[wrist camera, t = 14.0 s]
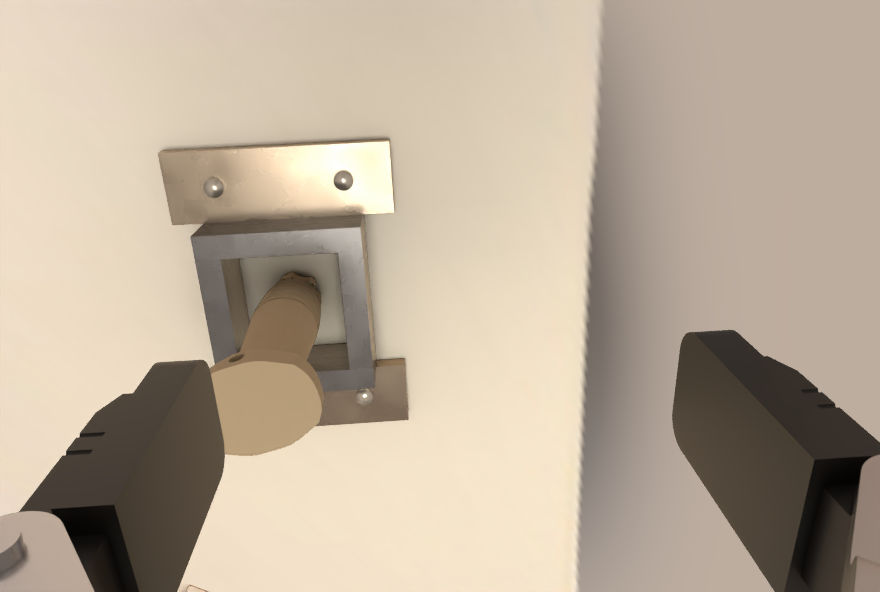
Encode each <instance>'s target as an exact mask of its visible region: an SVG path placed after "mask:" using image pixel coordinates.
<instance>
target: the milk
mask: <svg viewBox="0 0 880 592" xmlns="http://www.w3.org/2000/svg"><path fill="white" fill-rule="evenodd" d="M186 592H206V591H203V590H201V589H198V588H196V587H193V586H189V587H188V589H187V590H186Z"/></svg>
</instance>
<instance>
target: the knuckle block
mask: <svg viewBox="0 0 880 592" xmlns="http://www.w3.org/2000/svg"><path fill="white" fill-rule="evenodd" d="M158 156H159V161H160V166H161V171H162V176H163V181H164V186H165V191H166V196H167V201H168V206H169V211H170V216H171V221H172V225H184V224H201V223H204V224H203V225H202V226H201V227H200V228H199V229H198V230H197V231H196V232H195V233H194V234H193V235H192V236H191V242H192V247H193V252H194V258H195V263H196V268H197V273H198V278H199V284H200V289H201V294H202V299H203V304H204V310H205V315H206V320H207V325H208V330H209V336H210V341H211V346H212V351H213V356H214V362H215V364H217V363H218V362H220V361H222V360H224V359H225V358H227V357H229V356H231V355H233V354H236V353H238V352H240V350H241V347H242V345H243V342H244V339H245V336H246V333H247V330H248V327H249V324H250V323H249V317H248V311H247V305H246V299H245V293H244V287H243V281H242V275H241V269H240V263H239V258H255V257H272V256H289V255H306V254H323V253H338V261H339V271H340V280H341V290H342V299H343V309H344V318H345V328H346V337H347V343H343V344H327V345H313V346H312V349H311V351H310V353H309V356H308V358H307V360H306V361H307V362H308V363H310V365H311V366H312V367H313V369H314V370H315V371H316V373H317V375H318V377H319V379H320V382H321V386H322V389H323V397H324V400H323V407H322V413H321V417H320V421H319V423H318V424H317V425H316V426H325V425H339V424H354V423H368V422H382V421H397V420H408V402H407V387H406V373H405V359H388V360H377V359H376V348H375V336H374V325H373V313H372V302H371V291H370V279H369V268H368V256H367V245H366V234H365V222H364V214H379V213H394V200H393V186H392V172H391V157H390V143H389V139H379V140H360V141H340V142H321V143H301V144H282V145H262V146H243V147H223V148H204V149H185V150H165V151H162V152H160V153H158Z"/></svg>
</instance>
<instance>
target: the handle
mask: <svg viewBox="0 0 880 592" xmlns="http://www.w3.org/2000/svg"><path fill="white" fill-rule="evenodd" d="M320 317H321V294H320V293H319V292H318V291H317V289H316V281H315V280H314V279H313V278H312V277H301V276H298V275H296V274H295V273H288V274H286V275H284V276H283V277H282V278H281V281H280V282H279V283H277V284H276V285H274V286H273V287H272V288H271V289H270V290H269V291H268V292H267V294H266V295H265V296H264V297H263V299H262V300H261V302H260V303H259V305H258V306H257V308H256V310H255V312H254V314H253V316H252V319H251V321H250V324H249V327H248V330H247V333H246V336H245V339H244V342H243V345H242V347H241V350H240V352H238V353H236V354H233V355H231V356H229V357H227V358H225V359H224V360H222V361H220V362H218V363H217V364H215V365H214V366H213V367H211V368H210V373H211V377H212V382H213V387H214V393H215V398H216V403H217V408H218V413H219V418H220V423H221V428H222V433H223V439H224V449H225V454H228V455H239V456H253V455H258V454H263V453H266V452H270V451H273V450H277V449H281V448H283V447H286V446H289V445H291V444H293V443H294V442H296V441H297V440H299V439H300V438H301V437H303V436H304V435H305V434H306V433H308V432H309V431H310V430H311V429H312V428H313V427H315V426H316V425H317V424H318V423H319V421H320V417H321V413H322V407H323V400H324V397H323V389H322V386H321V382H320V379H319V377H318V375H317V373H316V371H315V370H314V369H313V367H312V366H311V365H310V363H308V362H307V361H306V360H307V358H308V356H309V353H310V351H311V349H312V346H313V344H314V342H315V339H316V336H317V333H318V329H319V325H320Z"/></svg>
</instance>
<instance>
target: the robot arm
mask: <svg viewBox="0 0 880 592" xmlns="http://www.w3.org/2000/svg"><path fill="white" fill-rule="evenodd" d="M672 417H673V418H672V419H673V429H674V434H675V437H676V440H677V443H678V445H679V447H680V449H681V451H682V452H683V454H684V455H685V457H686V458H687V460H688V461H689V463H690V464H691V466H692V467H693V469H694V470H695V472H696V473H697V475H698V476H699V478H700V479H701V481H702V482H703V484H704V485H705V487H706V488H707V490H708V492H709V493H710V494H711V496H712V497H713V499H714V501H715V502H716V503H717V505H718V507H719V508H720V510H721V511H722V513H723V514H724V516H725V517H726V519H727V520H728V522H729V523H730V525H731V526H732V528H733V529H734V530H735V532H736V534H737V535H738V536H739V538H740V540H741V541H742V543H743V544H744V546H745V547H746V549H747V550H748V552H749V553H750V555H751V556H752V558H753V559H754V561H755V562H756V564H757V565H758V567H759V569H760V570H761V571H762V573H763V575H764V576H765V577H766V579H767V581H768V582H769V583H770V585H771V587H772V588H773V590H774V591H775V592H880V442H878V441H877V440H876V439H875V438H874V437H873V436H872V435H870V434H869V433H868V432H867V431H866V430H864V428H862V427H861V426H860V425H859V424H858V423H857V422H856V421H854V420H853V419H852V418H851V417H850V416H849V415H847V414H846V413H845V412H844V411H843V410H842V409H840V408H836V407H835V403H834V402H833V401H831V400H830V399H829V398H828V397H827V396H826V395H825V394H823V393H822V392H821V393H819V392H818V388H817V387H815V386H814V385H813V384H812V383H811V382H809V381H808V380H807V379H806V378H805V377H804V376H803V375H802V374H800V373H799V372H798V371H797V370H795V369H793V368H791V367H788V366H786V365H784V364H782V363H780V362H778V361H776V360H774V359H772V358H770V357H768V356H765V357H764V356H763V355H761V354H760V353H759V352H758V351H757V350H756V349H755V348H754V347H753V346H752V345H750V344H749V343H748V342H747V341H746V340H745V339H744V338H743V337H742V336H741V335H740V334H738V333H737V332H736V331H734V330H723V331H707V332H706V331H705V332H689V333H687V334H686V335H685V336H684V337H683V340H682V343H681V347H680V355H679V363H678V372H677V379H676V387H675V396H674V404H673V414H672ZM224 458H225V449H224V439H223V433H222V428H221V423H220V418H219V413H218V408H217V403H216V398H215V393H214V387H213V382H212V377H211V373H210V369H209V367H208V364H207V363H206V362H205V361H204V360H192V361H175V362H158V363H155V364H154V365H153V366H152V368H151V369H150V371H149V372H148V373H147V375H146V376H145V378H144V379H143V380H142V382H141V383H140V385H139V386H138V387H137V389H136V390H135V392H134V393H133V394H122V395H121V396H119V397H118V398H116V399H115V400H114V401H112V402H111V403H109V404H108V405H106V406H105V407H103V408H102V409H101V410H99V411H98V412H96V413H95V414H94V416H93V417H92V418H91V420H90V421H89V422H88V424H87V425H86V426H85V427H84V429H83V430H82V431H81V433H80V438H76V439H75V440H74V442H73V443H72V444H71V445H70V447H69V448H68V449H67V451H66V456H62V457H61V458H60V460H59V461H58V462H57V464H56V465H55V466H54V467H53V469H52V470H51V471H50V473H49V474H48V475H47V476H46V478H45V479H44V480H43V482H42V483H41V484H40V485H39V487H38V488H37V489H36V491H35V492H34V493H33V495H32V496H31V497H30V498H29V500H28V501H27V502H26V504H25V505H24V506H23V507H22V509H21V510H20V511H19V512H17V513H12V514H8V515H4V516H1V517H0V592H177V590H178V588H179V585H180V583H181V580H182V578H183V575H184V572H185V570H186V567H187V565H188V562H189V560H190V557H191V554H192V552H193V549H194V547H195V544H196V542H197V539H198V536H199V534H200V531H201V529H202V526H203V523H204V521H205V518H206V516H207V513H208V511H209V508H210V505H211V503H212V500H213V498H214V495H215V493H216V490H217V487H218V485H219V482H220V480H221V477H222V473H223V468H224Z"/></svg>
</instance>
